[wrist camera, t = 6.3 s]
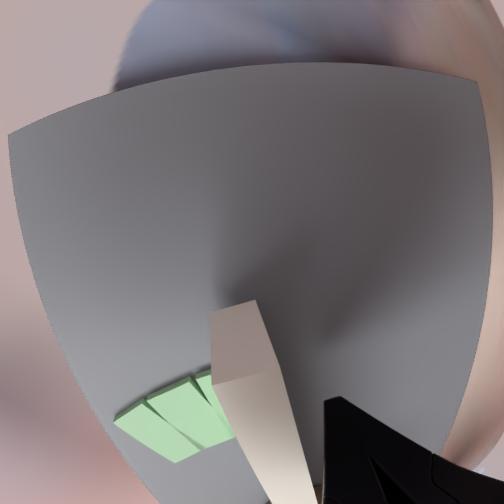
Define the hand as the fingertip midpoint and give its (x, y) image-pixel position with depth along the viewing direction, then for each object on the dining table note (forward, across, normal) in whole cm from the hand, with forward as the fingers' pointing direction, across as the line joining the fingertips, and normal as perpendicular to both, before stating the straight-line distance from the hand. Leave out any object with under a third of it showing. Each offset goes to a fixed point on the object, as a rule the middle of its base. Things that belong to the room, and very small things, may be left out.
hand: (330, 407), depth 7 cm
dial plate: (+3, 0, +2) cm, 4 cm away
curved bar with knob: (+2, +1, +4) cm, 5 cm away
